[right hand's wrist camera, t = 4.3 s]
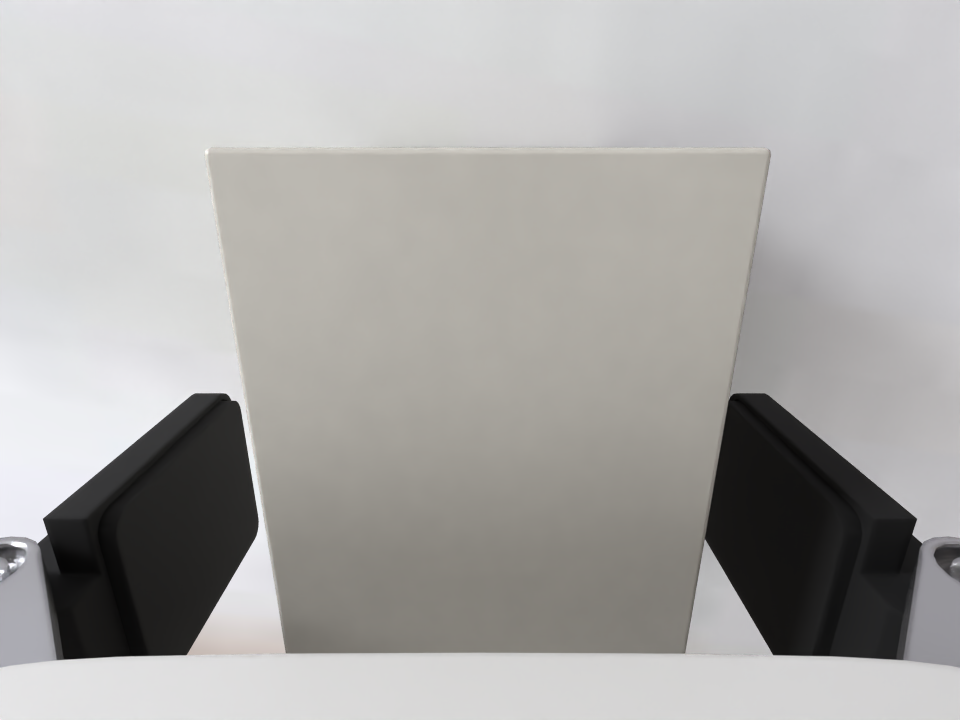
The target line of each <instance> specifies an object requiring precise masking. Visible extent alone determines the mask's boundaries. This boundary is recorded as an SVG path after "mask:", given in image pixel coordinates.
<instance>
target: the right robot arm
mask: <svg viewBox="0 0 960 720" xmlns="http://www.w3.org/2000/svg"><path fill="white" fill-rule="evenodd" d="M43 521H44V524H45V527H46V530H47V533H48V535H47V536H46V537H45V538H44V539H43V540H41V541H40V542H39V543H38V544H37V543H36V541H33V540H31V539H28V538H25V537H5V538H0V720H960V538H955V537H935V538H932V539H929V540H927V541H924V542H923V544H922V543H921V542H920V541H919V540H917V539H916V538H915V537H914V536H913V535H912V533H913V530H914V527H915V524H916V521H917V518H915V517H914V516H913V515H912V514H911V513H909V512H908V511H907V510H906V509H905V508H903V507H902V506H901V505H900V504H899V503H897V502H896V501H895V500H894V499H893V498H891V497H890V496H889V495H888V494H886V493H885V492H884V491H883V490H882V489H880V488H879V487H878V486H877V485H876V484H874V483H873V482H872V481H871V480H870V479H868V478H867V477H866V476H865V475H864V474H862V473H861V472H860V471H859V470H858V469H856V468H855V467H854V466H853V465H852V464H850V463H849V462H848V461H847V460H846V459H844V458H843V457H842V456H841V455H840V454H838V453H837V452H836V451H835V450H834V449H832V448H831V447H830V446H829V445H827V444H826V443H825V442H824V441H823V440H821V439H820V438H819V437H818V436H817V435H815V434H814V433H813V432H812V431H811V430H809V429H808V428H807V427H806V426H805V425H803V424H802V423H801V422H800V421H799V420H797V419H796V418H795V417H794V416H793V415H791V414H790V413H789V412H788V411H787V410H785V409H784V408H783V407H782V406H781V405H779V404H778V403H777V402H776V401H775V400H773V399H772V398H771V397H770V396H769V395H767V394H765V393H737V394H733V395H732V396H731V397H730V399H729V401H728V407H727V412H726V418H725V424H724V430H723V436H722V441H721V447H720V453H719V459H718V465H717V470H716V476H715V482H714V488H713V494H712V499H711V505H710V511H709V517H708V523H707V528H706V534H705V540H706V541H707V543H708V545H709V546H710V548H711V550H712V551H713V553H714V555H715V557H716V558H717V560H718V562H719V563H720V565H721V567H722V568H723V570H724V572H725V574H726V575H727V577H728V579H729V580H730V582H731V584H732V585H733V587H734V589H735V591H736V592H737V594H738V596H739V597H740V599H741V601H742V603H743V604H744V606H745V608H746V609H747V611H748V613H749V614H750V616H751V618H752V620H753V621H754V623H755V625H756V626H757V628H758V630H759V631H760V633H761V635H762V637H763V638H764V640H765V642H766V643H767V645H768V647H769V648H770V650H771V652H772V654H773V655H729V654H655V653H306V654H231V655H187V654H188V652H189V650H190V648H191V647H192V645H193V643H194V642H195V640H196V638H197V636H198V635H199V633H200V631H201V630H202V628H203V626H204V625H205V623H206V621H207V619H208V618H209V616H210V614H211V613H212V611H213V609H214V608H215V606H216V604H217V602H218V601H219V599H220V597H221V596H222V594H223V592H224V591H225V589H226V587H227V585H228V584H229V582H230V580H231V579H232V577H233V575H234V574H235V572H236V570H237V568H238V567H239V565H240V563H241V562H242V560H243V558H244V557H245V555H246V553H247V551H248V550H249V548H250V546H251V545H252V543H253V541H254V540H255V537H256V535H257V531H258V522H259V521H258V513H257V507H256V501H255V495H254V488H253V482H252V476H251V470H250V464H249V458H248V451H247V445H246V439H245V433H244V427H243V421H242V414H241V409H240V406H239V404H238V402H237V401H231V399H230V397H229V396H228V395H227V394H223V393H195V394H193V395H191V396H190V397H189V398H188V399H187V400H185V401H184V402H183V403H182V404H181V405H179V406H178V407H177V408H176V409H175V410H173V411H172V412H171V413H170V414H169V415H167V416H166V417H165V418H164V419H163V420H161V421H160V422H159V423H158V424H157V425H155V426H154V427H153V428H152V429H151V430H149V431H148V432H147V433H146V434H145V435H143V436H142V437H141V438H140V439H138V440H137V441H136V442H135V443H134V444H132V445H131V446H130V447H129V448H128V449H126V450H125V451H124V452H123V453H122V454H120V455H119V456H118V457H117V458H116V459H114V460H113V461H112V462H111V463H110V464H108V465H107V466H106V467H105V468H104V469H102V470H101V471H100V472H99V473H98V474H96V475H95V476H94V477H93V478H92V479H90V480H89V481H88V482H87V483H86V484H84V485H83V486H82V487H81V488H80V489H78V490H77V491H76V492H75V493H73V494H72V495H71V496H70V497H69V498H67V499H66V500H65V501H64V502H63V503H61V504H60V505H59V506H58V507H57V508H55V509H54V510H53V511H52V512H51V513H49V514H48V515H47V516H46V517H45V518H43Z"/></svg>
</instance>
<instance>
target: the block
mask: <svg viewBox="0 0 960 720" xmlns="http://www.w3.org/2000/svg"><path fill="white" fill-rule="evenodd" d="M770 157H771V154H770V150H768V149H766V148H209V149H207V150H206V151H205V160H206V166H207V173H208V179H209V185H210V191H211V197H212V203H213V209H214V215H215V222H216V228H217V234H218V240H219V246H220V252H221V258H222V264H223V271H224V277H225V283H226V289H227V295H228V301H229V307H230V313H231V320H232V326H233V332H234V338H235V344H236V350H237V356H238V362H239V369H240V375H241V381H242V387H243V393H244V399H245V405H246V411H247V418H248V424H249V430H250V436H251V442H252V448H253V454H254V460H255V467H256V473H257V479H258V485H259V491H260V497H261V503H262V509H263V516H264V522H265V528H266V534H267V540H268V546H269V552H270V558H271V565H272V571H273V577H274V583H275V589H276V595H277V601H278V607H279V614H280V620H281V626H282V632H283V638H284V644H285V650H286V654H306V653H655V654H685V650H686V644H687V639H688V633H689V627H690V621H691V615H692V610H693V604H694V598H695V592H696V586H697V581H698V575H699V569H700V563H701V557H702V552H703V546H704V540H705V534H706V528H707V523H708V517H709V511H710V505H711V499H712V494H713V488H714V482H715V476H716V470H717V465H718V459H719V453H720V447H721V441H722V436H723V430H724V424H725V418H726V412H727V407H728V401H729V395H730V389H731V383H732V378H733V372H734V366H735V360H736V354H737V349H738V343H739V337H740V331H741V325H742V320H743V314H744V308H745V302H746V296H747V291H748V285H749V279H750V273H751V267H752V262H753V256H754V250H755V244H756V238H757V233H758V227H759V221H760V215H761V209H762V204H763V198H764V192H765V186H766V180H767V175H768V169H769V163H770Z"/></svg>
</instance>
